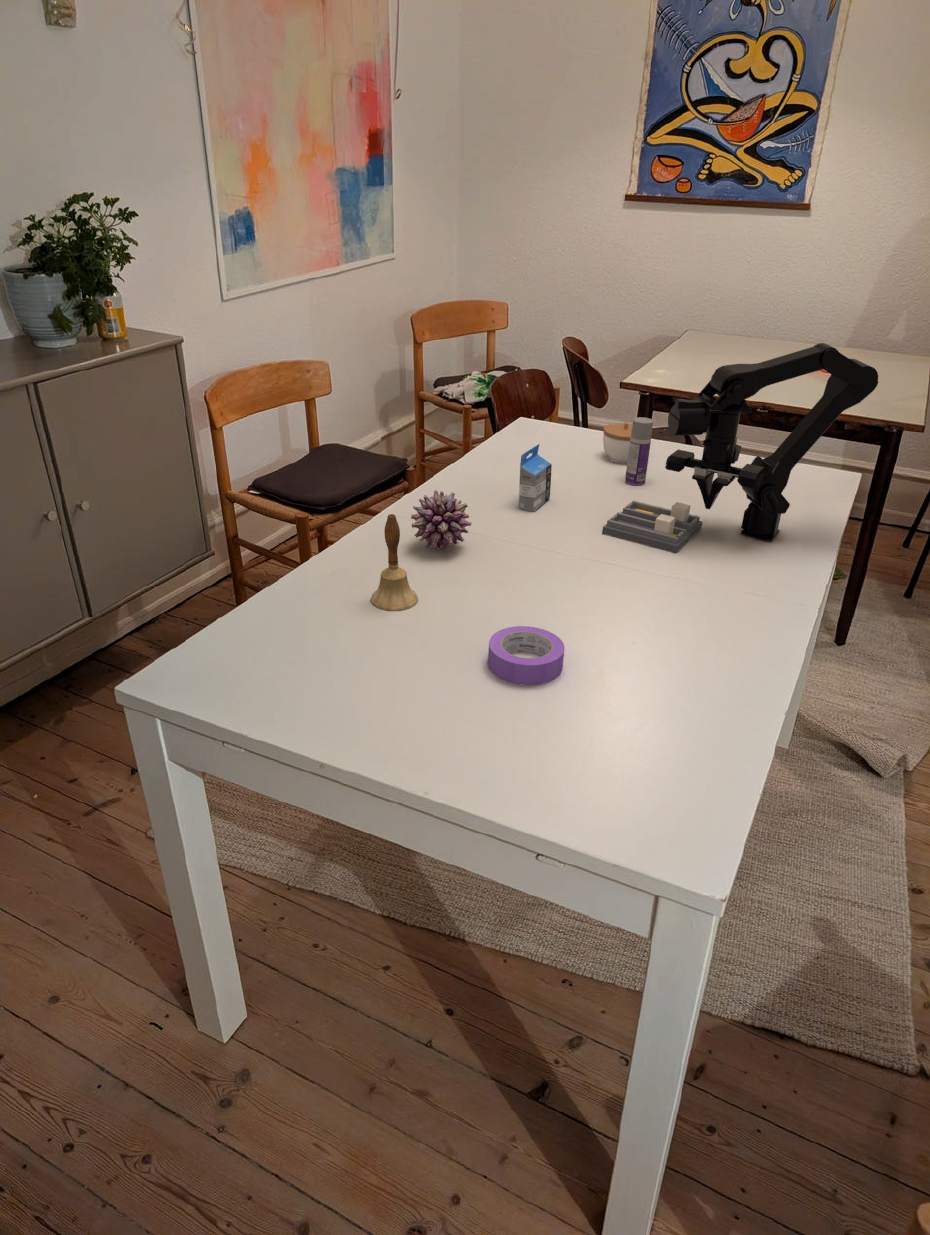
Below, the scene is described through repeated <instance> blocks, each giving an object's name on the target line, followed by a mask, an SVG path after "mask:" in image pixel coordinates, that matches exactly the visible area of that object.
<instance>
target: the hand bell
mask: <svg viewBox="0 0 930 1235" xmlns="http://www.w3.org/2000/svg"><path fill="white" fill-rule="evenodd" d="M386 518H387V519H386V523H385V525H384V539H385V540H384V541H385V545H386V547H387V550H388V552H387V554H388V555H387V557H388V562H387V563H388V567H386V568H384V569H383V570H382V571H381V573H380V578H379V584H378V586H377V589H376V590H375V591H374V592H373V593H372V594H371V597H370V602H371V604H372V605H373V606H374V607H375V608H377V609H379V610H382V611H383V610H384V611H386V612H387V611H389V612H400V611H404V610H407V609H411V608H412V607H414V606H415V605H416V604H417V602H418V601H419V597H418V594H417V592H416V591H414V589H412V588H411V586H410V583H409V580H408V574H407V571H406V570H405V569H404V568H402V567H399V559H398V558H399V556H398V548H399V543H400V537H401V531H400V530H401V529H400V525H399V523H398V522H399V521H398V520H397V517H396V515H395V514H394V513H391V514H388V515H387V517H386Z"/></svg>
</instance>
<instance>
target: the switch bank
mask: <svg viewBox="0 0 930 1235" xmlns="http://www.w3.org/2000/svg"><path fill="white" fill-rule="evenodd" d="M661 514H664V515H668V516H670V515H671V508H670V509H669V508H665V507H661V506H658V505H653V504H649V503H645V502H640V501H636V500H632V501H631V502H629V503H628V504H627V505H625V507H623V508H622V511H621V512H617V513H616V514H614V515H613V516H612V517H610V518H609V519H608V520H607V521H606V524H604V525H603V526H602V532H601V533H602V534H603V535H607V536H610V537H614V538H618V539H621V540H625V541H630V542H631V543H632V542H633V543H637V544H640V545H644V546H647V547H650V548H651V547H652V548H655V549H659V550H663V551H667V552H670V553H674V554H677V553H678V552H679V551H680V550H681V549H682V548H683V547H684V546H685V545H686V544H687V543H688V542H689V541H690V540H692V538H693V537H694V536H695V535H697V533H699V531H700V530H701V529H702V527H703V520H700V519H701V517H700V516H699V515H698V516H697V515H694V514H690V513H689V519H688V521H687V522H682V521H678V520H675V524H674V531H673V534H672V535H667V534H664V533H660V532H656V531H654V528H655V522H656V518H657V517H659V516H660V515H661Z"/></svg>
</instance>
